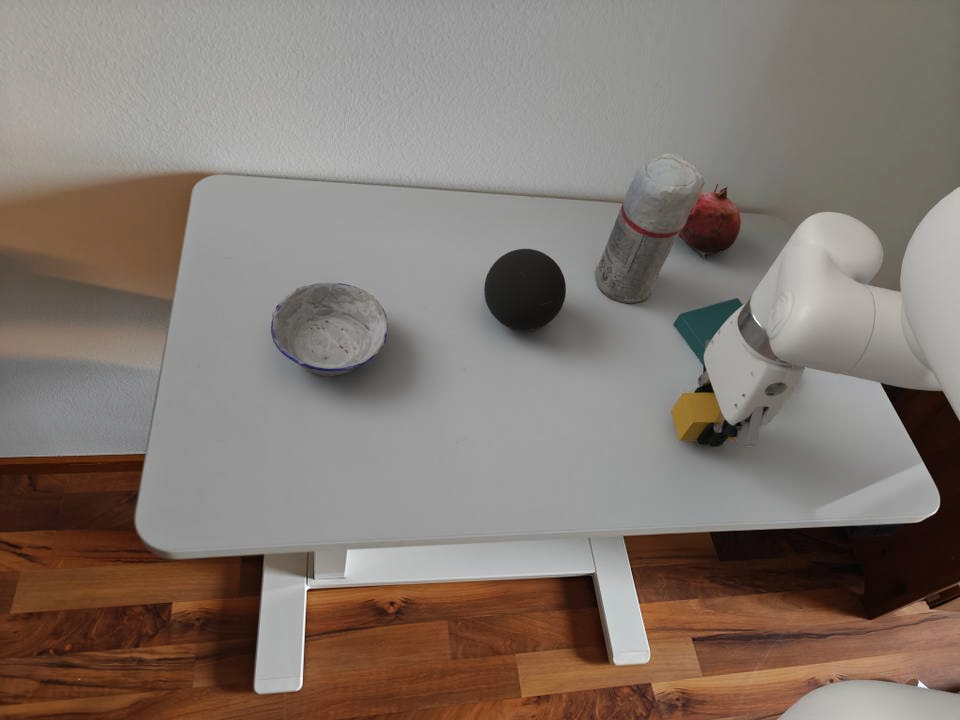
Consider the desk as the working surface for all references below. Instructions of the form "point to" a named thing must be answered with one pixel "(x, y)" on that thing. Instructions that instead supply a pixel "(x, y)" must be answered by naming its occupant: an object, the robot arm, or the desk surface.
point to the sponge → (695, 414)
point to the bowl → (329, 327)
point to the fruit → (712, 223)
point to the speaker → (525, 289)
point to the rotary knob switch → (704, 324)
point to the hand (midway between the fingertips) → (703, 424)
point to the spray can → (648, 227)
